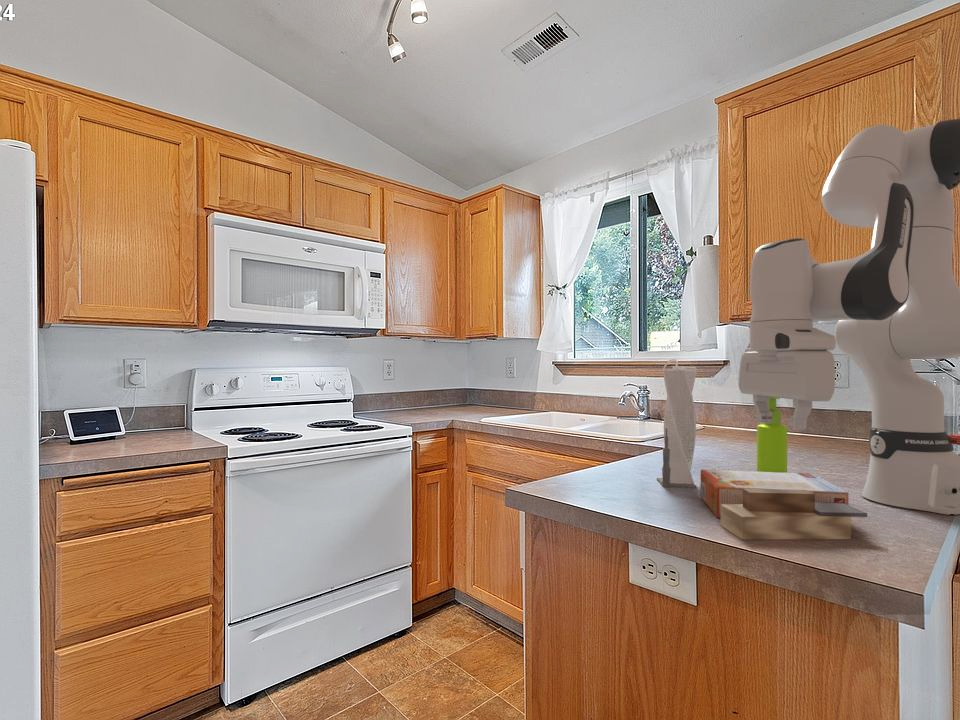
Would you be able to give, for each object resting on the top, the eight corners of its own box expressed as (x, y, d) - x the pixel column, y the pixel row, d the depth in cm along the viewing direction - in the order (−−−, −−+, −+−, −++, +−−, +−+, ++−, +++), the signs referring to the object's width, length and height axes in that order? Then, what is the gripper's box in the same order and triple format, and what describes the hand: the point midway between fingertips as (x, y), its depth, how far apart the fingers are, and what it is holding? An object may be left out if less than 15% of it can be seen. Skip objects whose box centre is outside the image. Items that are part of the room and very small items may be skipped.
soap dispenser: (747, 483, 118) (747, 394, 118) (769, 480, 120) (769, 394, 121) (771, 489, 112) (771, 396, 112) (793, 486, 115) (793, 395, 115)
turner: (842, 506, 86) (842, 488, 86) (867, 517, 80) (867, 497, 80) (738, 504, 88) (738, 486, 88) (754, 514, 82) (754, 495, 82)
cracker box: (716, 520, 91) (850, 526, 87) (716, 485, 91) (850, 490, 87) (699, 498, 105) (815, 503, 101) (699, 468, 105) (814, 472, 101)
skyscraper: (655, 478, 123) (655, 359, 123) (691, 479, 122) (691, 359, 122) (663, 486, 114) (663, 359, 114) (701, 488, 113) (702, 359, 113)
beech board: (820, 524, 88) (820, 504, 88) (851, 539, 81) (851, 516, 81) (720, 525, 87) (720, 504, 87) (742, 539, 80) (742, 516, 80)
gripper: (729, 342, 95) (729, 418, 94) (800, 337, 74) (800, 434, 74) (763, 342, 95) (763, 418, 95) (844, 337, 74) (844, 434, 74)
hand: (780, 425), depth 84 cm, fingers open, 8 cm apart
